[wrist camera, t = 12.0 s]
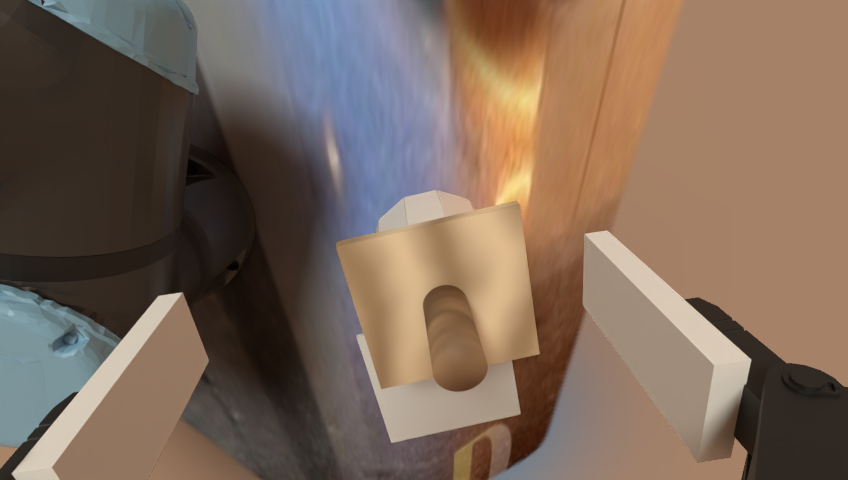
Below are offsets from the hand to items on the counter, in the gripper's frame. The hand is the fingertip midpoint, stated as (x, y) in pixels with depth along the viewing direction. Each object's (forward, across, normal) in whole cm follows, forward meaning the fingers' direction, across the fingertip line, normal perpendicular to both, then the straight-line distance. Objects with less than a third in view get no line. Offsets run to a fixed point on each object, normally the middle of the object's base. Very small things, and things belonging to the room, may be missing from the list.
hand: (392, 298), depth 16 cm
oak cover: (+20, +3, -13) cm, 24 cm away
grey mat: (+29, +2, -29) cm, 41 cm away
